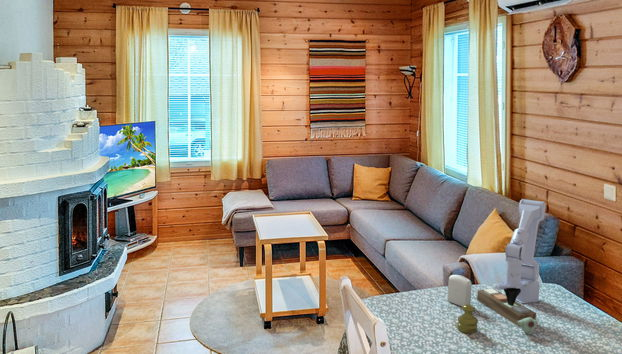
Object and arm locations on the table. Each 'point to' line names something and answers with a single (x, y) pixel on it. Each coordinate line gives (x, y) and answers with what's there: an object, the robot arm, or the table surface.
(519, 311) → the slate key
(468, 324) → the olive green vase
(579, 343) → the table surface
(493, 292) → the ivory key
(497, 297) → the terracotta key
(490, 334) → the table surface
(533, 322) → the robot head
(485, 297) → the keyboard
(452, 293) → the white rounded slab
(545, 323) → the table surface
